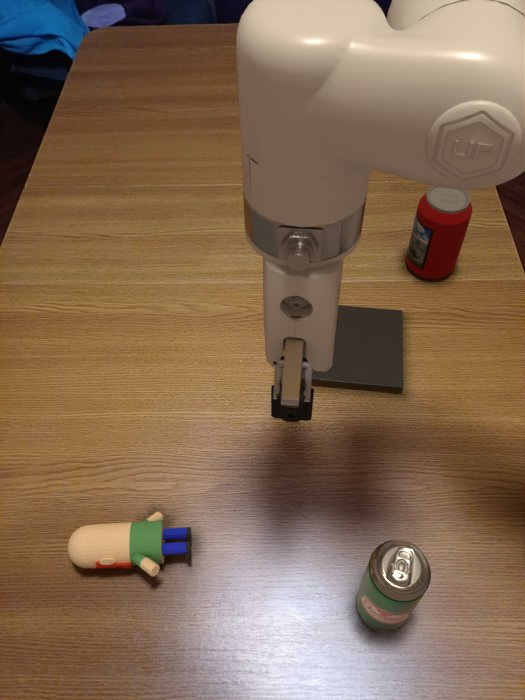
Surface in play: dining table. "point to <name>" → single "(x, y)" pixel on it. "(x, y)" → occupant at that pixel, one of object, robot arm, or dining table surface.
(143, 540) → the toy figurine
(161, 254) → the dining table surface
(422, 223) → the beverage can
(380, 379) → the scale
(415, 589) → the soda can
